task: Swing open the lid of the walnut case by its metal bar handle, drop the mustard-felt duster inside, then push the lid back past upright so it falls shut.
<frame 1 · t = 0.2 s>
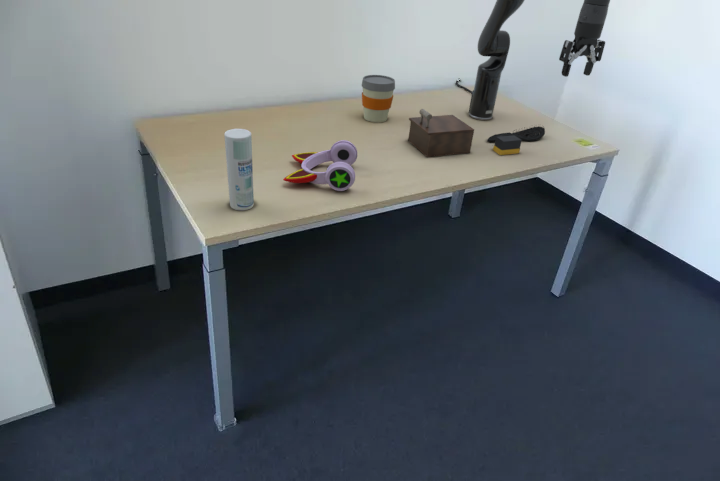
hand: (575, 75, 165), 29 cm above the table, tool pointing down, fingers open, 8 cm apart
hairbrush: (515, 139, 197), on the table
case: (438, 146, 185), on the table
duster: (505, 151, 185), on the table
spray can: (241, 205, 140), on the table
reusable coffee cup: (375, 118, 205), on the table
case lid: (442, 117, 179), point 10 cm above the table, hinge at -0.1°
headphones: (321, 176, 159), on the table
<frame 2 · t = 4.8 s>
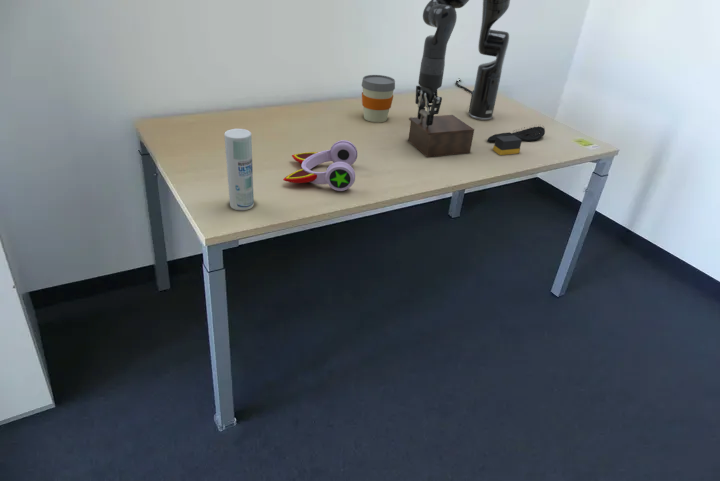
hand: (424, 121, 177), 10 cm above the table, tool pointing down, fingers closed on case lid, 5 cm apart
case lid: (442, 117, 179), point 10 cm above the table, hinge at -0.1°, touching gripper
everything else where it was.
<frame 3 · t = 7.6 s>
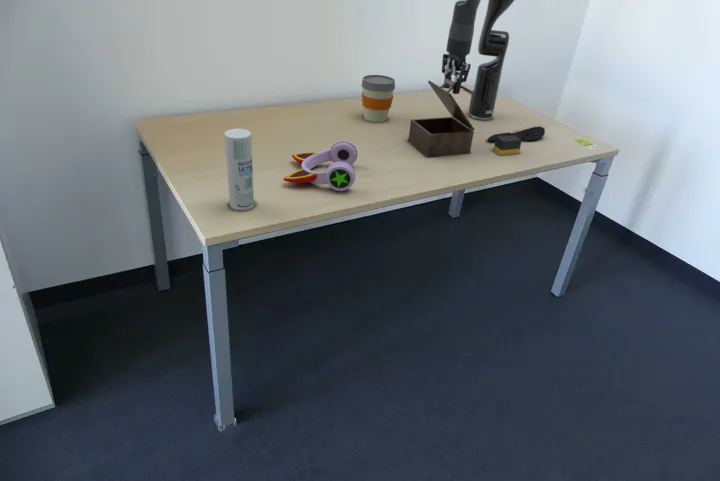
hand: (451, 90, 174), 20 cm above the table, tool pointing down, fingers closed on case lid, 5 cm apart
case lid: (456, 100, 177), point 16 cm above the table, hinge at 47.3°, touching gripper
everything else where it was.
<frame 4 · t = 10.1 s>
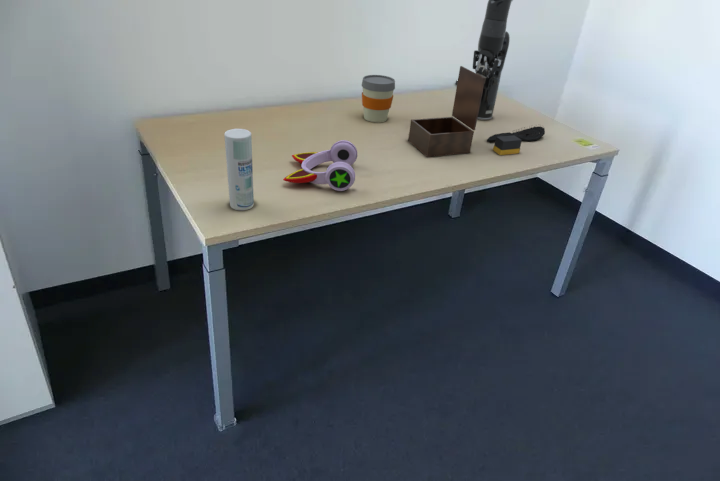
hand: (482, 86, 178), 21 cm above the table, tool pointing down, fingers closed on case lid, 5 cm apart
case lid: (473, 97, 179), point 17 cm above the table, hinge at 90.0°, touching gripper
everything else where it was.
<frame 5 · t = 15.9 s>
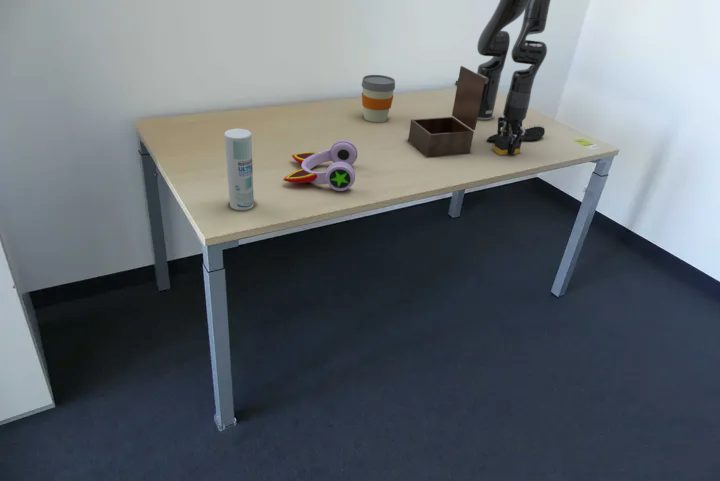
hand: (506, 150, 185), 0 cm above the table, tool pointing down, fingers closed on duster, 4 cm apart
duster: (505, 151, 185), on the table, touching gripper
case lid: (473, 97, 179), point 17 cm above the table, hinge at 90.6°
everything else where it was.
when the fingers open (1 cm above the table, at t = 26.3 s): duster stays where it is, resting on case.
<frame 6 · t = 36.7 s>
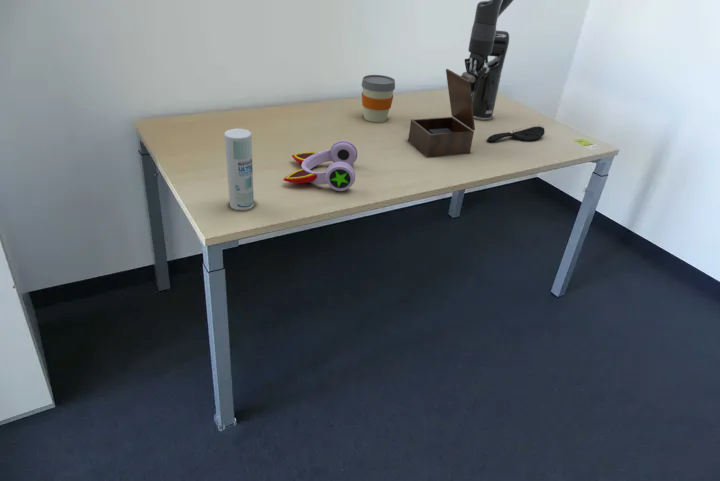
hand: (472, 91, 178), 19 cm above the table, tool pointing down, fingers closed
duster: (439, 144, 184), point 1 cm above the table, touching case
case lid: (466, 97, 178), point 17 cm above the table, hinge at 71.7°
everything else where it was.
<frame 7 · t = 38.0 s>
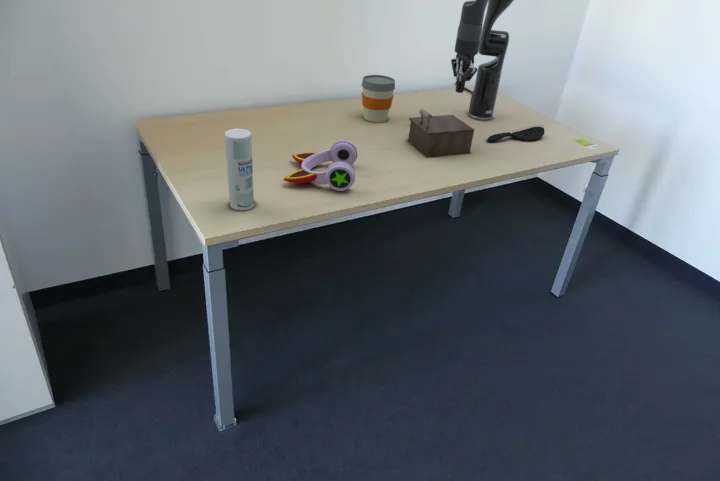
hand: (459, 92, 176), 19 cm above the table, tool pointing down, fingers closed
case lid: (442, 117, 179), point 10 cm above the table, hinge at -0.1°
everything else where it was.
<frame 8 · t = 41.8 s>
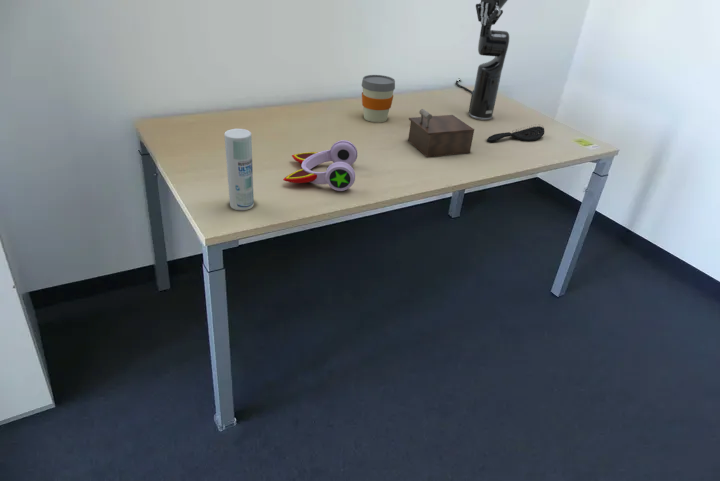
hand: (483, 37, 176), 35 cm above the table, tool pointing down, fingers closed
nothing on the table moved.
at the end: case lid reached +91° during the clip, +0° at the end; duster inside the target area in the case (0.1 cm from its centre), point 0.8 cm above the case's base; case lid at +0° (first picture: +0°) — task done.
